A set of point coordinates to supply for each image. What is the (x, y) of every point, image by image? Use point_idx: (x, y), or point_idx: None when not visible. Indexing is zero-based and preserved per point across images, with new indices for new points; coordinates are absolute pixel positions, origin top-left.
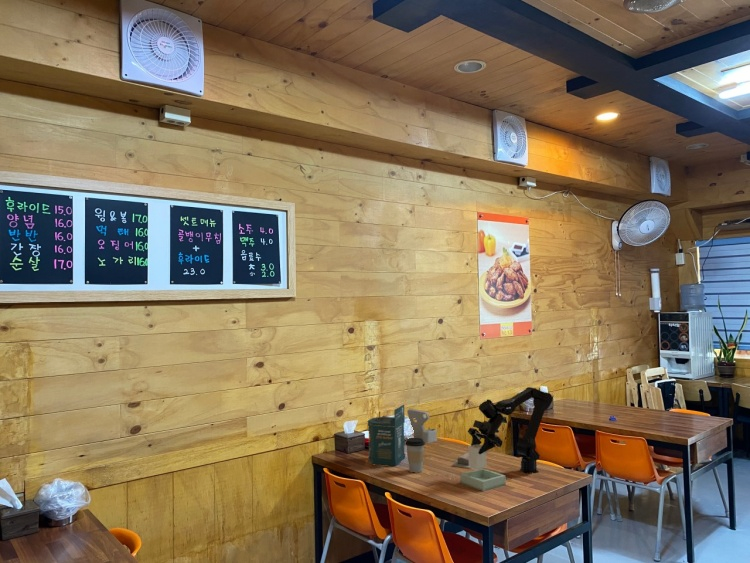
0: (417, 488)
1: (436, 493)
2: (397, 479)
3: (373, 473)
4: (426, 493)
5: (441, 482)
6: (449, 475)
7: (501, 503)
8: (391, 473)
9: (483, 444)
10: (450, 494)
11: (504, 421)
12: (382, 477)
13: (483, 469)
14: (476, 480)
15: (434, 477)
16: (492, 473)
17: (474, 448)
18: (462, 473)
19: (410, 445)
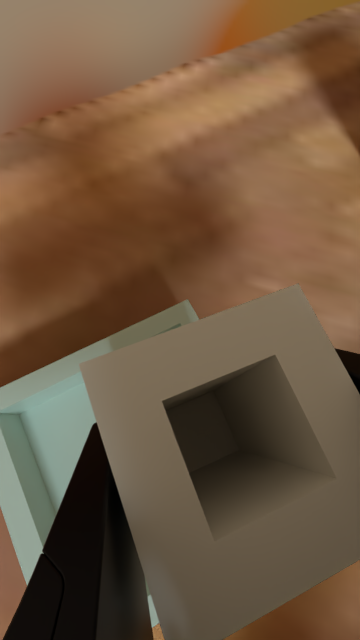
0: (138, 115)
1: (47, 166)
2: (272, 77)
3: (355, 26)
4: (60, 130)
5: (207, 227)
6: (324, 297)
7: None
8: (356, 75)
9: (70, 603)
10: (10, 218)
11: None
12: (302, 40)
13: None
14: (39, 371)
15: (292, 217)
16: None
17: (132, 347)
18: (195, 314)
19: None
